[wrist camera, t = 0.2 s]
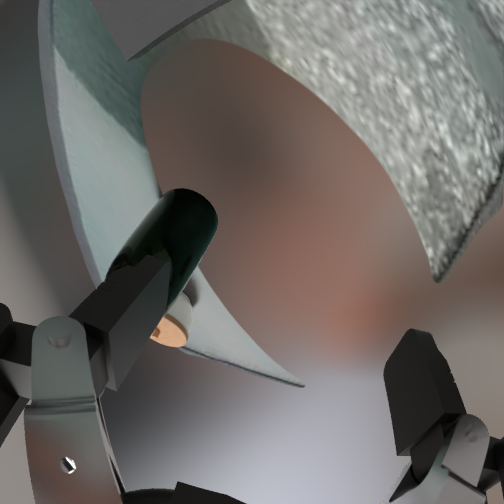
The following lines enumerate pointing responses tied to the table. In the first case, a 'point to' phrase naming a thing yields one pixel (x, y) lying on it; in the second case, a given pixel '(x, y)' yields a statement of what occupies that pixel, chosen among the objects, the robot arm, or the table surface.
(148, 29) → the plate
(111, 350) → the robot arm
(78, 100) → the table surface
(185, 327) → the lidded bowl
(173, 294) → the dark wine bottle
